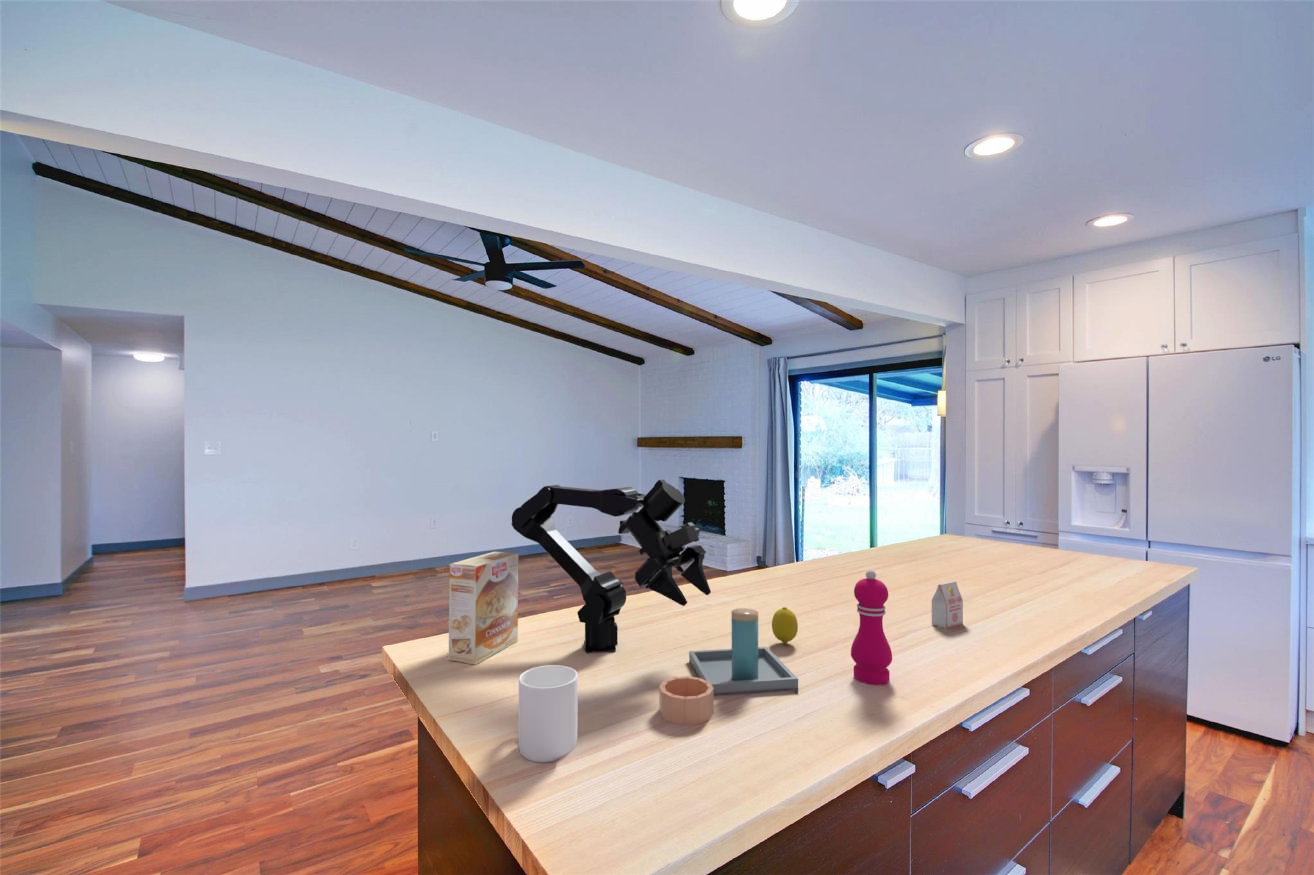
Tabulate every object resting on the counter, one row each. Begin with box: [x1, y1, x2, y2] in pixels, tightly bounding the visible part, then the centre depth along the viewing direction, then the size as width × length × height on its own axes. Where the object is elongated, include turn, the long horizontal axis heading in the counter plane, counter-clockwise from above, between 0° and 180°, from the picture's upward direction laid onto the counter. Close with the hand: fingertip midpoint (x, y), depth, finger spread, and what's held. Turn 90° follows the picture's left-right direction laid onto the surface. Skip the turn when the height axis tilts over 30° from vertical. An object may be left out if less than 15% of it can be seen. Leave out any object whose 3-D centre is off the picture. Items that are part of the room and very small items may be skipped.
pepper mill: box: [850, 569, 893, 686], centre depth 106 cm, size 7×7×20 cm
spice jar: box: [730, 607, 759, 681], centre depth 104 cm, size 5×5×12 cm
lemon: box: [771, 606, 799, 645], centre depth 125 cm, size 6×6×8 cm
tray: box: [688, 646, 799, 697], centre depth 107 cm, size 16×16×2 cm
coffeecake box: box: [448, 551, 520, 665], centre depth 121 cm, size 15×7×20 cm, turn 160°
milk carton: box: [931, 581, 964, 630], centre depth 138 cm, size 4×7×10 cm, turn 121°
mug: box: [518, 664, 579, 764], centre depth 83 cm, size 12×8×10 cm
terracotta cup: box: [658, 675, 715, 726], centre depth 92 cm, size 8×8×4 cm
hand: (697, 598), depth 111 cm, fingers open, 9 cm apart
